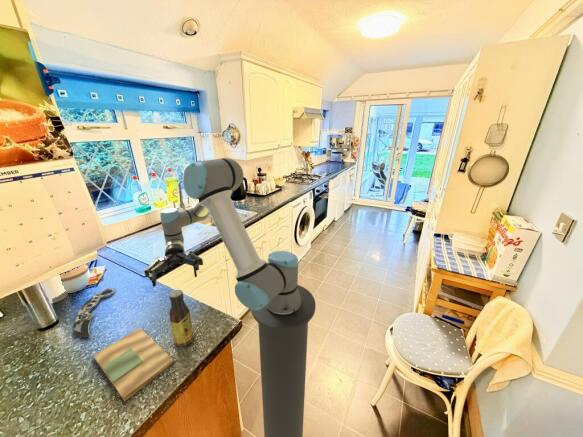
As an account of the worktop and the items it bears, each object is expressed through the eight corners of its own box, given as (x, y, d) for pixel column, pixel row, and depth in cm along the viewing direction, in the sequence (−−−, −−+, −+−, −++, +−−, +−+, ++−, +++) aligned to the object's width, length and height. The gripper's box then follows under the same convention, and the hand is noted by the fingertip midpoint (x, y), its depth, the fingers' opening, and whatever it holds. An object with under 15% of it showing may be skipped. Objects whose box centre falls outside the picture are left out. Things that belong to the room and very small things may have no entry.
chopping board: (173, 362, 75) (172, 358, 74) (124, 402, 64) (123, 397, 63) (140, 330, 86) (139, 326, 86) (94, 358, 75) (93, 355, 75)
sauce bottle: (190, 347, 80) (181, 300, 72) (171, 348, 79) (160, 301, 72) (196, 332, 86) (188, 287, 79) (179, 332, 85) (169, 287, 78)
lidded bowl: (78, 297, 102) (69, 275, 98) (49, 296, 102) (39, 275, 98) (100, 279, 114) (93, 260, 110) (74, 279, 114) (66, 259, 110)
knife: (90, 335, 83) (54, 341, 79) (91, 338, 83) (56, 344, 80) (118, 286, 108) (92, 289, 105) (119, 289, 108) (93, 292, 105)
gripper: (206, 253, 108) (212, 278, 90) (143, 265, 98) (136, 296, 80) (204, 238, 105) (210, 261, 87) (139, 249, 95) (131, 278, 77)
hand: (175, 278), depth 84 cm, fingers open, 13 cm apart
